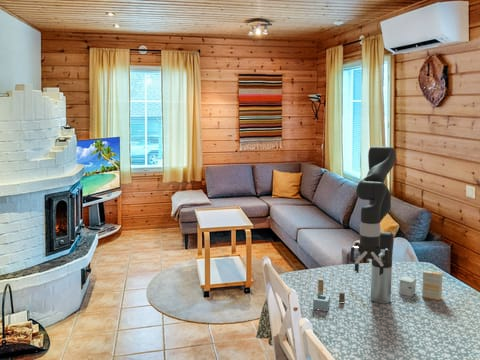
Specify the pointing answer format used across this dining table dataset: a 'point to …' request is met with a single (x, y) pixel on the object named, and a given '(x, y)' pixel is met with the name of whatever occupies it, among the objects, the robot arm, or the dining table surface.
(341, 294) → the short dowel
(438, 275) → the supplement box
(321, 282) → the long dowel
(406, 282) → the skincare box
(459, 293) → the dining table surface
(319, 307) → the hole block
